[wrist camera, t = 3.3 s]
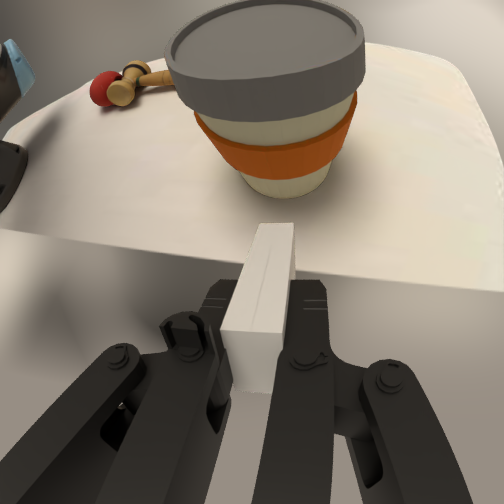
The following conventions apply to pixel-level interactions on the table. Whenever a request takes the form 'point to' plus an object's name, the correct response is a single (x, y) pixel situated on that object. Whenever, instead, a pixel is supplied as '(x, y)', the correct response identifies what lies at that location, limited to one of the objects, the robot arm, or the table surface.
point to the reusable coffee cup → (272, 87)
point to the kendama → (125, 83)
